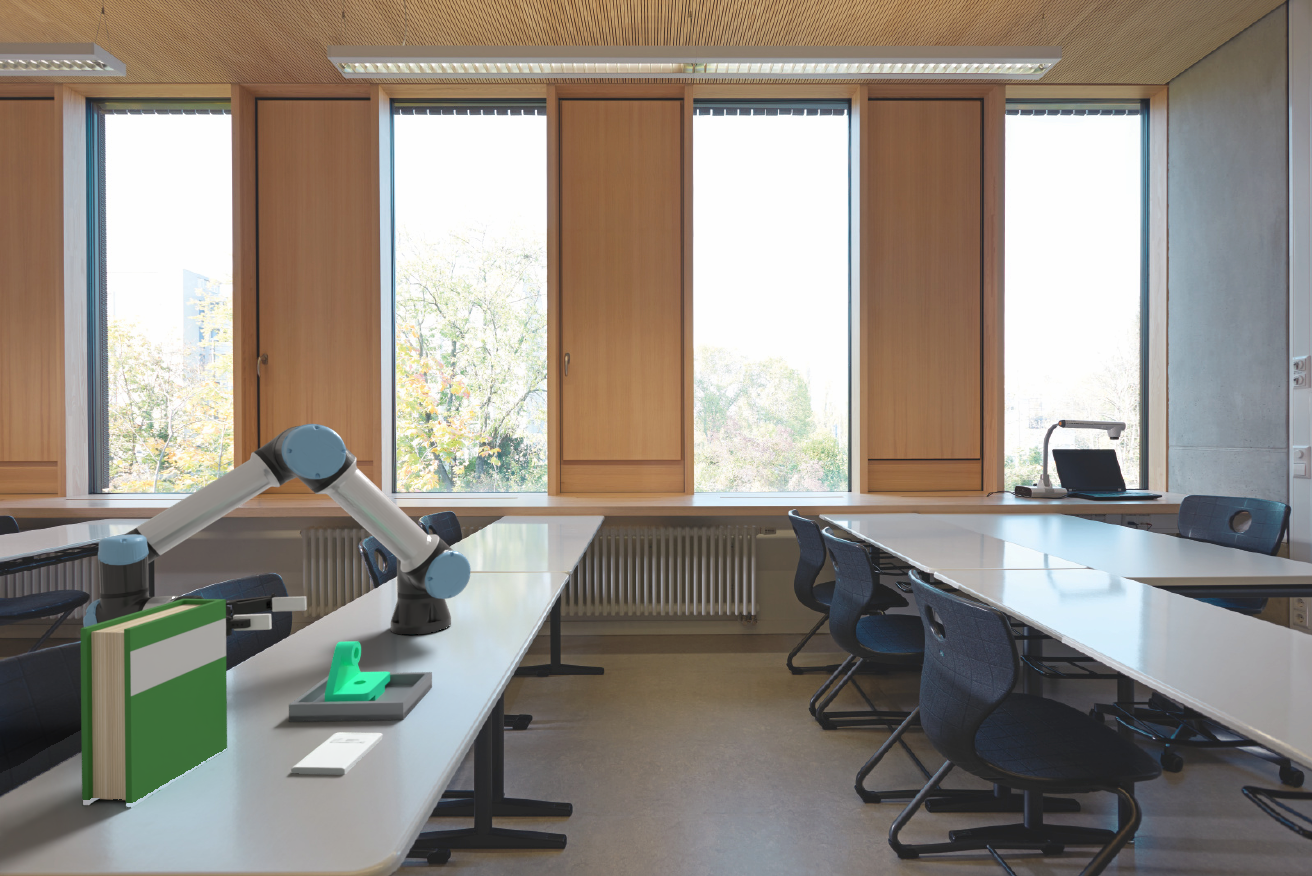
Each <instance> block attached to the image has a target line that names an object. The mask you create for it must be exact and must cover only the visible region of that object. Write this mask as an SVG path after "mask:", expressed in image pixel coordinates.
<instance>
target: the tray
mask: <svg viewBox="0 0 1312 876" xmlns="http://www.w3.org/2000/svg"><path fill="white" fill-rule="evenodd" d="M328 677H329V675H327V676H326V677H325V678H323V679H322V680H321V681H319V682H317V683H316V684H315V685H313V686H312V687H311V688H310V689H308V690H307V691H305V692H304V693H302V695H300V696H299V697H297V698H296V699H294V700H293V701H292V702H290V703H289V704H288V722H290V723H291V722H294V723H295V722H296V723H297V722H298V723H299V722H344V721H348V722H350V721H353V722H354V721H355V722H356V721H357V722H358V721H402V720H404V719H406V717H408V715H409V714H410V713H411V712H412V711H413V709H415V708H416V706H417V705H418V704H419V703H420V702H421V700H422V699H424V697H425V696H426V695H427V694H428V692H430V690H431V689H432V688H433V672H432V671H427V672H426V671H424V672H423V671H422V672H421V671H420V672H419V671H418V672H416V671H415V672H412V671H411V672H390V681H389V682H388V683H387V684H386V685H385V692H384V693H383V694H382V695H381V696H380V697H379V698H378V699H377V700H376V701H345V702H325V690H326V686H327V681H328Z"/></svg>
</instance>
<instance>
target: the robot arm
mask: <svg viewBox="0 0 1312 876" xmlns="http://www.w3.org/2000/svg"><path fill="white" fill-rule="evenodd" d="M357 460H358V459H357V457H356V456H355V454H353V453H352V452H351V451H350V450H349V449H348V447H347V446H346V444H345V443H344V440H343V439H342V437H341V435H339V433H337V432H336V431H335V430H333V429H332V428H330V427H328V426H325V425H321V424H317V423H307V424H301V425H297V426H292V427H289V428H286V429H285V430H283V431H282V432H280V433H279V434H277V435H276V436H275V437H274V438H272V439H271V440H270V441H269V442H267V443H265V444H264V445H263V446H260V448H258V449H256V450H255V451H253V452H251V455H250V458H249V459H248V460H247V461H245V462H244V463H241V464H240V465H238V466H237V467H235V468H233V469H231V470H230V471H228V472H227V473H225V474H223V475H222V476H220V477H218V478H217V479H215V480H214V481H212V482H209V483H208V484H207V485H205V486H203V487H202V488H199V489H198V490H197V491H195V492H193V493H192V494H190V495H188V496H186V497H185V498H183V499H181V500H179V501H178V502H176V503H175V504H173V505H171V506H170V507H168V508H165V510H163V511H161V512H160V513H158V514H156V515H154V516H153V517H152V518H149V519H148V520H146V521H144V522H143V523H142V524H140V525H137V526H136V527H135V528H133V529H132V530H129V531H128V532H126V533H124V534H120V535H113V536H107V537H104V538H102V539H100V541H99V542H98V552H97V563H98V577H99V592H100V593H99V599H98V598H97V599H95V600H94V601H92V602H91V603H89V605H88V606H87V608H86V610H85V613H86V614H85V615H84V616H83V620H82V622H83V628H84V627H87V626H91V625H94V624H98V623H101V622H105V621H108V620H112V619H115V618H118V617H122V616H125V615H129V614H132V613H136V612H139V611H143V610H146V609H150V608H153V607H156V606H160V605H163V604H167V603H170V602H174V601H177V600H181V599H205V598H204V597H203V596H201V595H197V594H196V595H195V594H194V595H180V596H179V595H165V596H164V595H163V596H162V595H161V596H150V594H149V593H150V587H149V564H150V563H152V562H153V561H154V560H156V559H158V558H159V557H161V556H162V555H163V554H164V553H166V552H168V551H171V549H174V547H176V546H178V545H180V544H181V543H183V542H184V541H186V540H187V539H189V538H190V537H192V536H194V535H195V534H197V533H199V532H200V531H202V530H203V529H205V528H207V527H208V526H210V525H211V524H213V523H215V522H216V521H218V520H219V519H221V518H223V517H224V516H226V515H227V514H229V513H230V512H233V511H234V510H236V509H237V508H239V507H240V506H242V505H244V504H246V503H247V502H248V501H250V500H252V499H253V498H255V497H257V496H258V495H260V494H262V493H264V492H265V491H266V490H268V489H269V488H271V487H273V488H274V487H275V488H279V487H281V486H282V485H285V483H287V482H290V481H291V480H294V479H296V478H297V479H299V481H300V482H302V483H303V484H304V485H305V486H307V488H308V489H310V490H311V491H312V492H313V493H314V494H315V495H327V496H328V497H329V498H330V499H332V500H333V502H335V504H337V505H338V506H340V508H341V509H342V510H344V511H345V512H346V514H348V515H349V516H351V517H352V519H354V520H355V521H356V522H357V523H358V524H359V525H360V526H361V527H362V528H364V530H366V531H367V532H368V534H370V535H371V536H372V537H374V538H375V539H376V540H377V541H378V542H379V543H380V544H381V545H382V546H384V547H385V548H386V549H387V551H389V552H390V553H391V554H393V555H394V557H396V582H397V583H396V589H397V590H396V592H397V593H396V594H397V598H396V599H397V600H396V604H395V607H394V609H393V613H392V616H391V619H390V632H391V631H392V633H393V634H397V635H402V634H418V635H424V634H425V635H427V634H432V633H431V632H433V633H436V632H435V631H437V632H439V631H438V630H440V629H444V630H446V629H447V628H446V627H448V626H449V625H451V626H452V615H451V612H450V610H449V606H448V603H447V602H446V600H447V599H451V598H456V596H458V595H460V594H461V593H462V592H463V591H464V590H465V588H466V587H467V585H468V584H469V582H470V577H471V570H472V569H471V565H470V561H469V560H468V558H467V557H466V556H465V555H464V554H463V553H461V552H460V551H457V550H454V549H452V547H450V545H448V544H447V543H446V541H444V540H443V539H442V538H441V537H440V536H439V535H438V534H428V533H426V532H425V531H424V530H423V529H422V528H421V527H420V526H419V525H418V524H417V523H416V522H415V521H414V520H412V519H411V517H410V516H408V514H407V513H405V512H404V511H403V509H401V508H400V507H399V506H398V505H397V504H396V503H395V502H394V501H392V500H391V498H389V496H387V495H386V493H384V492H383V491H382V490H381V489H380V488H379V487H378V486H377V485H376V484H375V483H373V481H371V479H370V478H368V477H367V476H366V475H365V474H364V473H363V472H362V471H361V470H360V469H359V468H358V466H357ZM307 601H308V599H307V595H306V596H305V595H304V596H303V595H302V596H277V594H276V592H275V593H274V592H273V593H271V594H270V595H265V596H256V597H249V598H247V597H246V598H240V599H226V637H229V636H232V634H233V633H232V632H233V631H236V632H237V631H240V632H241V631H264V630H265V631H266V630H272V629H273V627H272V623H273V621H272V613H273V612H274V613H275V612H296V611H301V612H302V611H303V612H304V611H306V610H308V607H307V605H308V604H307ZM269 611H272V613H261V612H269ZM445 628H446V629H445ZM448 628H449V627H448Z"/></svg>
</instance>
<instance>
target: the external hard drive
mask: <svg viewBox="0 0 1312 876" xmlns="http://www.w3.org/2000/svg"><path fill="white" fill-rule="evenodd" d="M383 736H384V734H383V733H381V732H351V731H350V732H344V731H343V732H342V731H341V732H340V731H339V732H335V733H333V734H332V735H331V736H330V737H328V738H327V739H326V740H324V741H323V742H322V743H321V744H319V746H317V747H316V748H314V749H313V750H312V751H311V752H310V753H308V754H307V755H306V756H305V757H303V758H302V759H301V760H299V761H298V762H296V764H294V765H293V766H292V767H291V768H290V773H299V774H298V775H331V776H332V775H333V776H334V775H338V776H339V775H340V776H343V775H347V773H349V772H350V771H351V769H353V767H355V766H356V765H357V764H358V763H359V762H360V761H361V760H362V759H363V758H364V757H365V756H366V755H367V754H368V753H369V752H370V751H371V750H372V749H373V748H374V747H375V746H376V745H378V743H380V742H381V741H382V740H383V738H384V737H383ZM362 757H363V758H362ZM358 761H359V762H358ZM357 762H358V763H357ZM356 763H357V764H356Z"/></svg>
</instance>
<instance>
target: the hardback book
mask: <svg viewBox="0 0 1312 876" xmlns="http://www.w3.org/2000/svg"><path fill="white" fill-rule="evenodd" d="M226 600H227V599H223V598H204V599H181V600H177V601H174V602H170V603H167V604H163V605H160V606H156V607H153V608H150V609H146V610H143V611H139V612H136V613H132V614H129V615H125V616H122V617H118V618H115V619H112V620H108V621H105V622H101V623H98V624H94V625H91V626H87V627H84V626H83V627H81V628H80V699H81V700H80V705H81V706H80V709H81V710H80V713H81V714H80V715H81V717H80V722H81V725H80V726H81V800H82V799H83V800H90V799H91V798H100V800H113V799H118V800H117V801H120V800H119V799H122V800H121V801H125V803H126V802H127V803H133V802H136V801H137V800H138V799H140V798H143V797H144V796H146V795H147V794H148V793H151V792H153V791H154V790H155V789H158V788H159V787H160V786H162V785H164V784H166V783H168V782H169V781H170V780H172V779H175V778H176V777H178V776H180V775H182V774H184V773H185V772H186V771H188V770H191V769H192V768H194V767H195V766H198V765H199V764H201V762H203V761H206V760H207V759H208V758H210V757H212V756H214V755H215V754H217V753H219V752H222V751H223V750H224V749H226V748H227V749H228V706H227V705H228V699H227V698H228V697H227V696H228V695H227V694H228V693H227V689H228V687H227V636H226ZM222 753H223V752H222Z"/></svg>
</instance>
